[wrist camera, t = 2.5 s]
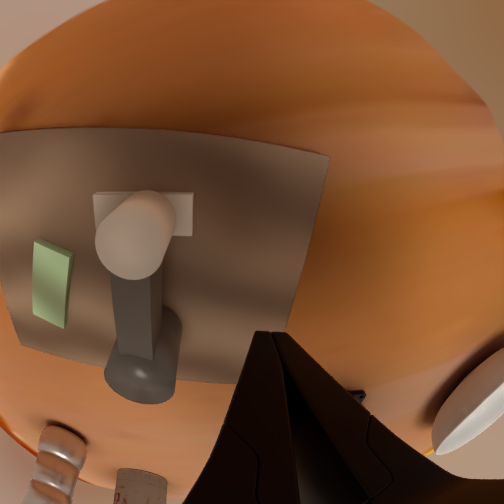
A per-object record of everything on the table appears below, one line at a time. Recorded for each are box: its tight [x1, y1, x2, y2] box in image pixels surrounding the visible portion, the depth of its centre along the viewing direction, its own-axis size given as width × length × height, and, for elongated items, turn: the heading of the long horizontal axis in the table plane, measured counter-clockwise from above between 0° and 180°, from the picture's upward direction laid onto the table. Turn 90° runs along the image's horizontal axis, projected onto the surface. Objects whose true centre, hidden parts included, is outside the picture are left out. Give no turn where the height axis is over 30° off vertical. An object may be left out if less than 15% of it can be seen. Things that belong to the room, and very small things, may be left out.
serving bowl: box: [432, 348, 504, 455], centre depth 27 cm, size 21×21×7 cm
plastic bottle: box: [22, 425, 87, 504], centre depth 17 cm, size 6×7×20 cm
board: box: [0, 127, 330, 384], centre depth 16 cm, size 16×20×3 cm
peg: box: [95, 190, 182, 404], centre depth 13 cm, size 10×4×4 cm, turn 170°
